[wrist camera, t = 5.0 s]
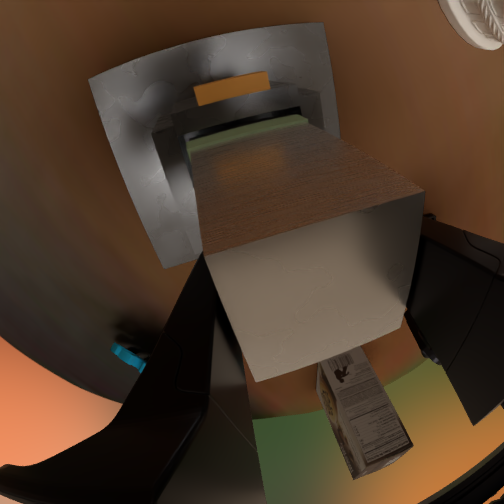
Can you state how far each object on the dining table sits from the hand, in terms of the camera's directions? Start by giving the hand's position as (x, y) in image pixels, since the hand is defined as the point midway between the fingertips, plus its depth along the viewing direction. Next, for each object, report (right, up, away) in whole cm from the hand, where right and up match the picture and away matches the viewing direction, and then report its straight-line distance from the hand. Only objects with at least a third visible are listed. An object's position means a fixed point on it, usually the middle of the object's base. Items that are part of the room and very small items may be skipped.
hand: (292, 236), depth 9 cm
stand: (-3, +7, +9) cm, 12 cm away
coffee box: (+11, -17, +30) cm, 36 cm away
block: (-1, +3, +5) cm, 6 cm away
